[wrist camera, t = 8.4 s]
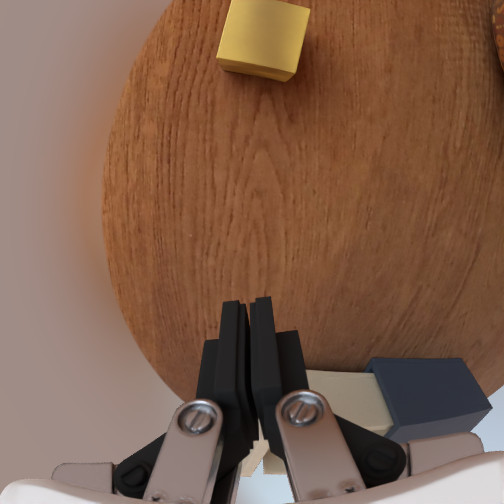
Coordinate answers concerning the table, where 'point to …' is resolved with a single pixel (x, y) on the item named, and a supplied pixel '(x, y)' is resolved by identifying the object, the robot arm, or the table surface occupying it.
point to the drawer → (342, 404)
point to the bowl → (498, 27)
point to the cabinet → (428, 397)
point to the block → (263, 38)
